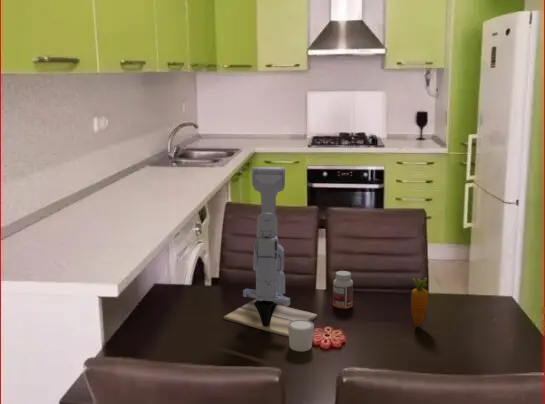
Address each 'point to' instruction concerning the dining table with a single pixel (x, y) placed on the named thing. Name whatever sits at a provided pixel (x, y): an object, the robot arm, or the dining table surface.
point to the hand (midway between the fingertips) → (266, 325)
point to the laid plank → (284, 312)
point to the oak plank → (258, 321)
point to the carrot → (419, 301)
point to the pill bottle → (343, 290)
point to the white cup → (300, 335)
